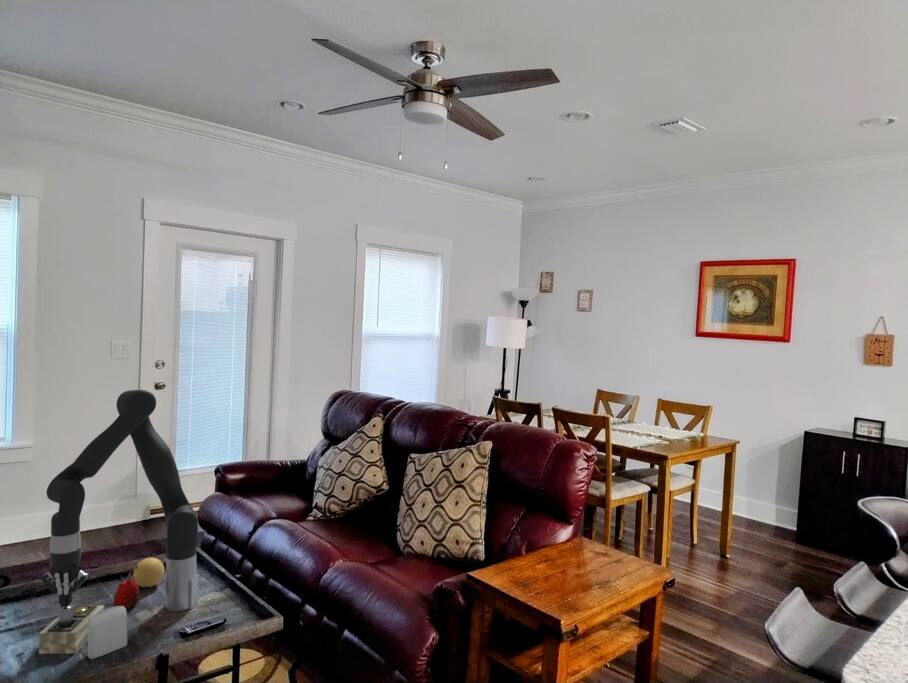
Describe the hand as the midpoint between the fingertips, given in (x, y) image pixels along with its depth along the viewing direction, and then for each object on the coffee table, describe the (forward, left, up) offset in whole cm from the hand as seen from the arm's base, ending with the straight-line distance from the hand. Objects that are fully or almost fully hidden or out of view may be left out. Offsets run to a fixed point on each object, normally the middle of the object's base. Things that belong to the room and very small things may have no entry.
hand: (65, 605), depth 175 cm
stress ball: (-8, -38, -12) cm, 41 cm away
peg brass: (0, -8, -12) cm, 14 cm away
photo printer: (-13, +3, -12) cm, 18 cm away
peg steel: (0, 0, -7) cm, 7 cm away
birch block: (0, -4, -12) cm, 13 cm away
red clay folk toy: (-7, -23, -12) cm, 27 cm away
